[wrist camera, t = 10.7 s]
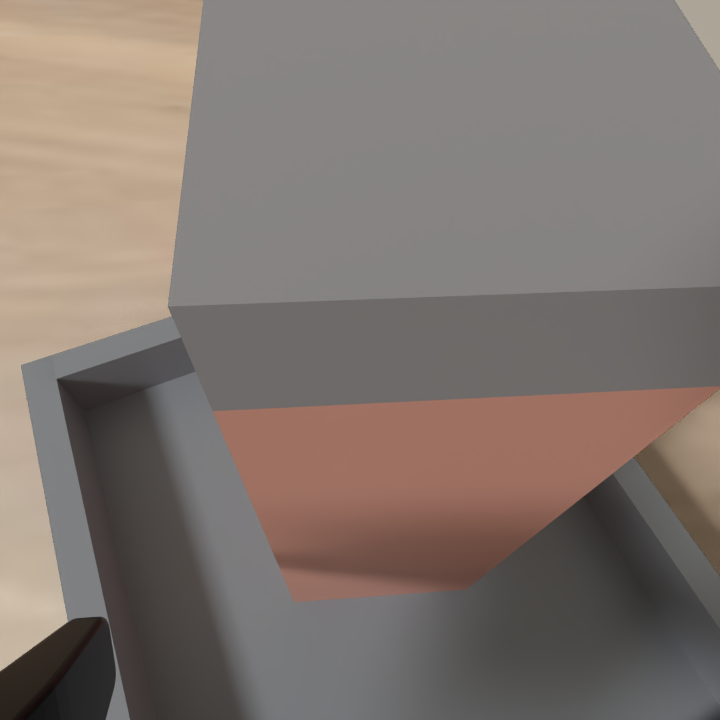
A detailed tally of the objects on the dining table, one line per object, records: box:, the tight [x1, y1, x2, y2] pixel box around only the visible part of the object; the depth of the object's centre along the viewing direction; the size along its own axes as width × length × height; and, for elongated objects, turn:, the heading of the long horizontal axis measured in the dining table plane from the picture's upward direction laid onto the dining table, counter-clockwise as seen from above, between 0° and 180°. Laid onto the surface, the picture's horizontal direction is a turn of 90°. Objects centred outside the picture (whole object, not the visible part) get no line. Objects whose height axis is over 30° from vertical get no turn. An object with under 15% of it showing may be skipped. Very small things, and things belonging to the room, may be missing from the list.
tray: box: [21, 317, 720, 720], centre depth 15 cm, size 16×14×3 cm
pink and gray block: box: [168, 0, 720, 602], centre depth 10 cm, size 4×4×13 cm
